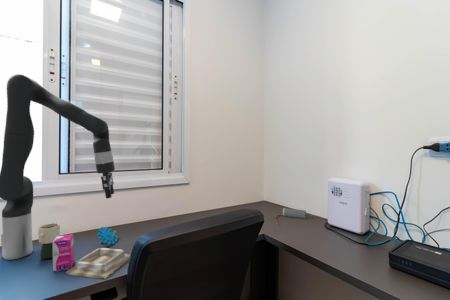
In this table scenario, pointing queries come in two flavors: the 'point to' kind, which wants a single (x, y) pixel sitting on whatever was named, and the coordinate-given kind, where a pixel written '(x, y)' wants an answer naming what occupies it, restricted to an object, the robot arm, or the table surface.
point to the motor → (293, 213)
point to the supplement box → (63, 252)
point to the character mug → (48, 238)
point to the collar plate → (99, 263)
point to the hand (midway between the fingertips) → (110, 196)
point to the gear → (107, 235)
